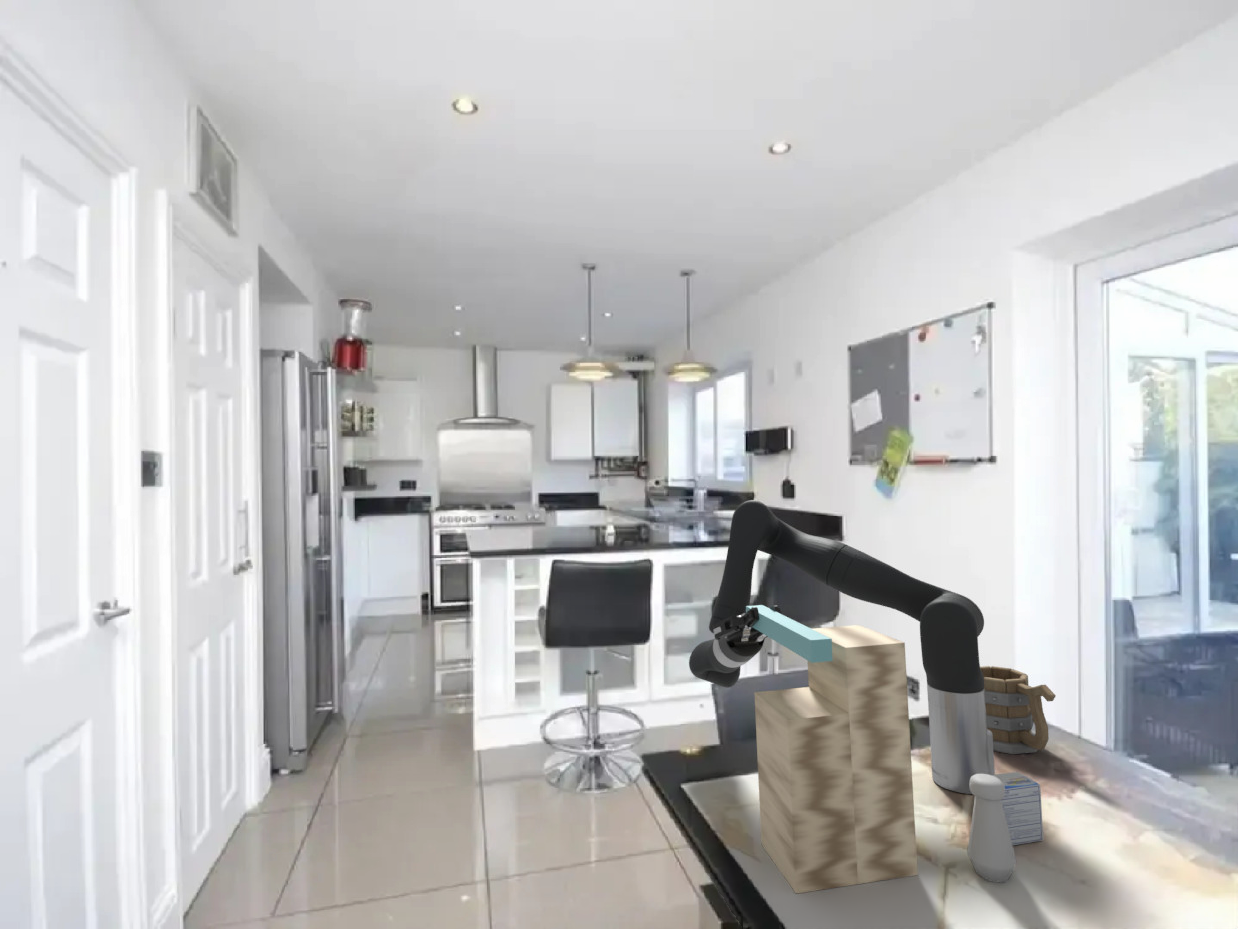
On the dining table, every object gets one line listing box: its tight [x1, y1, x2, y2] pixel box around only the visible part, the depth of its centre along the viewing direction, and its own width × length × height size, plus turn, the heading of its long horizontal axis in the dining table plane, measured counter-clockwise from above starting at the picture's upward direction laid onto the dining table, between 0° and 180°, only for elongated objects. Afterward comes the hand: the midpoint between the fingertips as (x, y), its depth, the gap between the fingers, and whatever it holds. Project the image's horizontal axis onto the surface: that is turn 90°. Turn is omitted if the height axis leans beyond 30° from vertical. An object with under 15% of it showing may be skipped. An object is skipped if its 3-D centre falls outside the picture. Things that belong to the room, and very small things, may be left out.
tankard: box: [980, 665, 1056, 755], centre depth 126 cm, size 20×13×15 cm, turn 6°
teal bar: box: [746, 604, 833, 663], centre depth 96 cm, size 3×24×3 cm, turn 9°
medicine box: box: [992, 771, 1044, 846], centre depth 95 cm, size 8×4×9 cm, turn 100°
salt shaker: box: [966, 774, 1017, 883], centre depth 87 cm, size 6×6×13 cm
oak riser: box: [753, 624, 919, 894], centre depth 92 cm, size 18×12×32 cm, turn 100°
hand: (766, 612), depth 102 cm, fingers closed on teal bar, 3 cm apart
